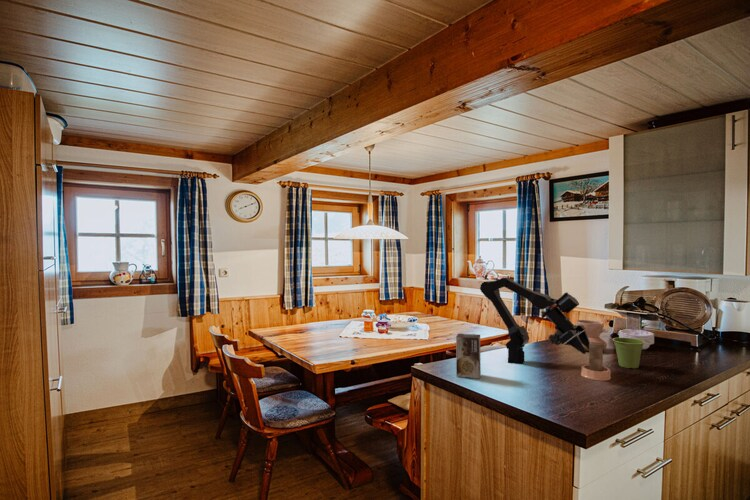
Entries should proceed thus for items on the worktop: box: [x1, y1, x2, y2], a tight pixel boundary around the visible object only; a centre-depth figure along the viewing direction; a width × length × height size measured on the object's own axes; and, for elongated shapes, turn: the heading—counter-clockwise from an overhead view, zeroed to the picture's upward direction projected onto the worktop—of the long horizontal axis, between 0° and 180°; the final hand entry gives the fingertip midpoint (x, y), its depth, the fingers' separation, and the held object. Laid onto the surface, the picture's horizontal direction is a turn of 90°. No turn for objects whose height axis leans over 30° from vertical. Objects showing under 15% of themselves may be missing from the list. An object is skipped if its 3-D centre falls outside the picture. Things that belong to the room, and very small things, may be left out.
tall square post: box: [588, 342, 604, 371], centre depth 164 cm, size 4×4×12 cm
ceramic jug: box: [576, 319, 609, 352], centre depth 207 cm, size 18×14×14 cm
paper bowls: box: [618, 328, 655, 350], centre depth 212 cm, size 15×15×8 cm
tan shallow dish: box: [580, 364, 612, 382], centre depth 164 cm, size 10×10×3 cm
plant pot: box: [612, 337, 645, 369], centre depth 178 cm, size 12×12×11 cm
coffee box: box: [455, 333, 482, 379], centre depth 165 cm, size 9×6×16 cm
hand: (588, 351), depth 166 cm, fingers open, 9 cm apart
